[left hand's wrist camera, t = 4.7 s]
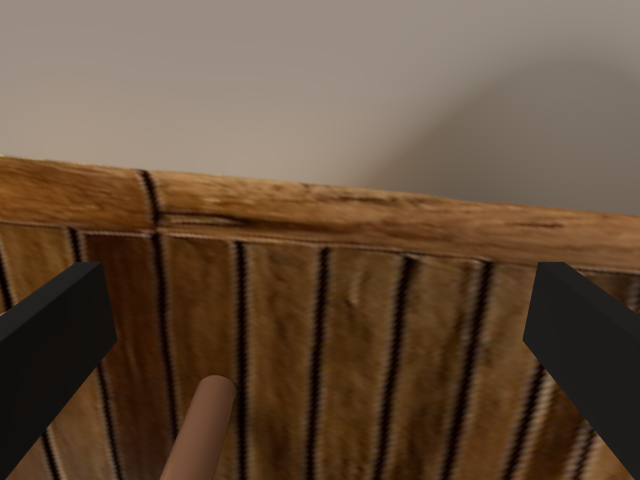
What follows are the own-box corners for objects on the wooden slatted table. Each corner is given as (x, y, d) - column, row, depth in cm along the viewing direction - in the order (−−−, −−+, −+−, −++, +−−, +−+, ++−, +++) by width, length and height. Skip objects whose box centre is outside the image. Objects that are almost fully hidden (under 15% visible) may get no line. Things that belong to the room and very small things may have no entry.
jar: (240, 380, 48) (199, 528, 32) (232, 410, 49) (189, 567, 33) (201, 371, 47) (139, 517, 31) (194, 402, 49) (131, 556, 33)
